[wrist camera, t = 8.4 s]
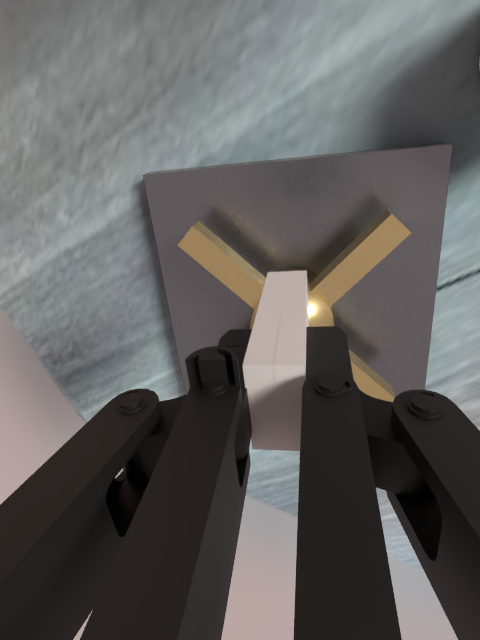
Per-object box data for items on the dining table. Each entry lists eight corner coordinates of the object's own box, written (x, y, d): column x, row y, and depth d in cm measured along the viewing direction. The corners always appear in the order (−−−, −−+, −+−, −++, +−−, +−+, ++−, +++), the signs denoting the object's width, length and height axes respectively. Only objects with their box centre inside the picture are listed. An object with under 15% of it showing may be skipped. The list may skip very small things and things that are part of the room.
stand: (151, 171, 32) (134, 177, 29) (443, 142, 28) (461, 145, 25) (193, 394, 42) (183, 417, 38) (417, 396, 38) (427, 422, 34)
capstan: (286, 111, 27) (281, 108, 22) (479, 298, 31) (514, 333, 25) (133, 306, 36) (104, 337, 30) (298, 435, 39) (297, 482, 34)
